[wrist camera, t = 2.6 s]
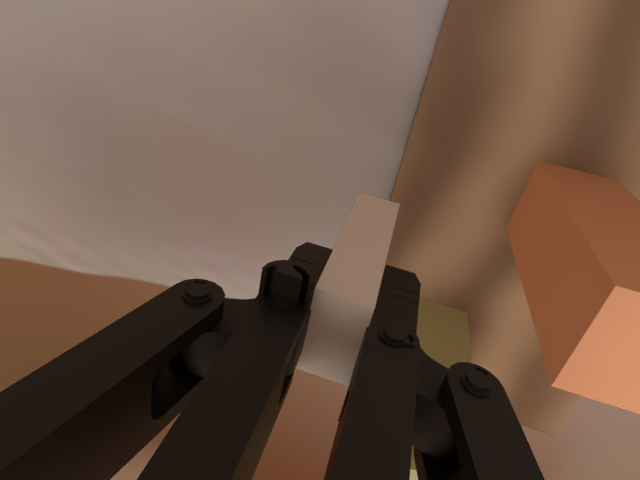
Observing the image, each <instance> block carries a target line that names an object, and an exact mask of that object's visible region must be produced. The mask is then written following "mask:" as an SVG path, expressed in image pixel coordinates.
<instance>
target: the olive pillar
mask: <svg viewBox="0 0 640 480" xmlns="http://www.w3.org/2000/svg"><path fill="white" fill-rule="evenodd" d="M416 335H417V336H418V338H419V342H420V347H421V348H422V350H423V351H424V352H425V353H426V354H427V355H428V356H429V357H430V358H432V359H433V360H435V361H436V362H438V363H440V364H441V365H443V366H445V367H447V368H448V369H449V368H450V367H451V365H453V364H456V363H458V362H469V363H472V359H471V347H470V334H469V321H468V312H465V311H462V310H459V309H456V308H452V307H449V306H446V305H442V304H439V303H436V302H433V301H429V300H426V299H423V298H420V299H419V310H418V321H417V332H416ZM410 480H418V476H417V471H416V465H415V460H414V454H413V445H412V455H411V468H410Z"/></svg>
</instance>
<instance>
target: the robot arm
mask: <svg viewBox="0 0 640 480" xmlns="http://www.w3.org/2000/svg"><path fill="white" fill-rule="evenodd" d="M399 205H400V204H399V203H395V202H392V201H388V200H385V199H381V198H378V197H374V196H371V195H367V194H363V193H360V194H359V196H358V198H357V200H356V202H355V204H354V207H353V209H352V211H351V213H350V215H349V217H348V219H347V221H346V223H345V226H344V228H343V230H342V232H341V234H340V236H339V238H338V240H337V243H336V245H335V247H334V249H333V250H332V249H328V248H325V247H322V246H318V245H315V244H312V243H308V242H306V243H304V244H302V245H300V246H298V247H297V248H296V249H295V250H294V252H293V254H292V255H291V258H289V260H288V261H287V260H279V261H273V262H270V263H268V264H266V265H265V266H264V267H263V269H262V275H261V282H260V288H259V294H258V296H257V297H256V298H255V299H248V300H239V299H228V298H225V293H224V291H223V289H222V288H221V287H220V286H219V285H217V284H216V283H214V282H211V281H208V280H204V279H190V280H184V281H182V282H180V283H177V284H175V285H174V286H172V287H170V288H169V289H167V290H166V291H164V292H162V293H161V294H159V295H157V296H156V297H154V298H153V299H151V300H149V301H148V302H146V303H144V304H143V305H141V306H140V307H138V308H136V309H135V310H133V311H132V312H130V313H128V314H127V315H125V316H123V317H122V318H120V319H118V320H117V321H115V322H114V323H112V324H110V325H109V326H107V327H105V328H104V329H102V330H101V331H99V332H97V333H96V334H94V335H92V336H91V337H89V338H88V339H86V340H84V341H83V342H81V343H79V344H78V345H76V346H74V347H73V348H71V349H70V350H68V351H66V352H65V353H63V354H61V355H60V356H58V357H57V358H55V359H53V360H52V361H50V362H49V363H47V364H45V365H44V366H42V367H40V368H39V369H37V370H36V371H34V372H32V373H31V374H29V375H27V376H26V377H24V378H22V379H21V380H19V381H17V382H16V383H14V384H13V385H11V386H9V387H8V388H6V389H4V390H3V391H2V392H0V480H110V479H111V478H112V477H113V476H114V475H115V474H116V473H117V472H118V471H119V470H120V469H121V468H122V467H123V466H125V465H126V464H127V463H128V462H129V461H130V460H131V459H132V458H133V457H134V456H135V455H136V454H137V453H138V452H139V451H140V450H141V449H142V448H144V446H146V445H147V444H148V443H149V442H150V441H151V440H152V439H153V438H154V437H155V436H156V435H157V434H158V433H159V432H160V431H162V430H163V429H164V428H165V427H166V426H167V425H168V424H169V423H170V422H171V421H172V420H173V419H174V418H175V417H176V416H177V415H178V414H179V413H180V415H179V416H178V418H177V420H176V421H175V423H174V424H173V426H172V427H171V429H170V430H169V432H168V433H167V435H166V436H165V438H164V439H163V441H162V443H161V444H160V445H159V447H158V449H157V450H156V451H155V453H154V455H153V456H152V458H151V459H150V461H149V462H148V464H147V465H146V467H145V468H144V470H143V471H142V473H141V474H140V476H139V477H138V479H137V480H252V478H253V475H254V473H255V470H256V468H257V466H258V463H259V461H260V458H261V456H262V453H263V451H264V448H265V446H266V444H267V441H268V439H269V436H270V434H271V431H272V429H273V427H274V424H275V422H276V419H277V417H278V414H279V412H280V410H281V407H282V405H283V402H284V400H285V397H286V395H287V393H288V390H289V388H290V385H291V382H292V378H293V373H294V369H295V367H296V365H297V369H299V370H302V371H305V372H307V373H311V374H314V375H316V376H319V377H323V378H325V379H329V380H331V381H335V382H337V383H340V384H343V385H346V386H349V388H348V391H347V394H346V397H345V400H344V404H343V407H342V410H341V413H340V416H339V419H338V421H339V423H338V427H337V430H336V434H335V438H334V442H333V446H332V450H331V453H330V457H329V461H328V465H327V468H326V472H325V476H324V480H410V468H411V455H412V445H413V454H414V460H415V465H416V471H417V476H418V480H544V477H543V475H542V473H541V471H540V469H539V466H538V464H537V462H536V459H535V457H534V455H533V453H532V450H531V448H530V446H529V443H528V441H527V439H526V437H525V434H524V432H523V430H522V428H521V425H520V423H519V421H518V418H517V416H516V414H515V412H514V409H513V407H512V405H511V403H510V400H509V398H508V396H507V393H506V391H505V389H504V387H503V386H502V384H501V383H500V381H499V380H498V379H497V378H496V377H495V376H494V375H493V374H492V373H491V372H490V371H488V370H486V369H484V368H483V367H481V366H479V365H476V364H472V363H469V362H458V363H456V364H453V365H451V367H450V368H449V369H448V368H447V367H445V366H443V365H441V364H440V363H438V362H436V361H435V360H433V359H432V358H430V357H429V356H428V355H427V354H426V353H425V352H424V351H423V350H422V348H421V347H420V342H419V338H418V336H417V335H416V332H417V321H418V310H419V299H420V296H419V295H420V288H421V283H420V282H419V280H418V278H417V276H416V274H415V273H413V272H409V271H406V270H403V269H399V268H396V267H393V266H389V265H386V259H387V255H388V251H389V247H390V243H391V238H392V234H393V230H394V226H395V222H396V217H397V213H398V209H399ZM297 362H298V364H297Z"/></svg>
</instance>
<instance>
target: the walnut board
mask: <svg viewBox="0 0 640 480" xmlns="http://www.w3.org/2000/svg"><path fill="white" fill-rule="evenodd" d="M537 160H539V161H543V162H547V163H551V164H554V165H558V166H562V167H566V168H570V169H574V170H578V171H582V172H585V173H589V174H593V175H597V176H601V177H605V178H609V179H613V180H617V181H619V182H620V183H621V184H622V185H623V186H624V187H625V188H626V189H627V190H628V191H629V192H630V193H631V194H632V195H633V196H634V197H635V198H636V199H637V200H639V201H640V0H450V2H449V6H448V9H447V12H446V16H445V19H444V22H443V26H442V29H441V32H440V36H439V39H438V42H437V46H436V49H435V52H434V56H433V59H432V62H431V66H430V69H429V72H428V76H427V79H426V83H425V86H424V89H423V93H422V96H421V99H420V103H419V106H418V109H417V113H416V116H415V119H414V123H413V126H412V129H411V133H410V136H409V139H408V143H407V146H406V149H405V153H404V156H403V159H402V163H401V166H400V169H399V173H398V176H397V180H396V183H395V186H394V190H393V193H392V196H391V200H390V201H392V202H395V203H399V204H400V205H399V209H398V213H397V217H396V222H395V226H394V230H393V234H392V238H391V243H390V247H389V251H388V255H387V259H386V265H389V266H393V267H396V268H399V269H403V270H406V271H409V272H413V273H415V274H416V276H417V278H418V280H419V282H420V283H421V288H420V295H419V296H420V298H423V299H426V300H429V301H433V302H436V303H439V304H442V305H446V306H449V307H452V308H456V309H459V310H462V311H465V312H468V321H469V334H470V347H471V359H472V364H476V365H479V366H481V367H483V368H484V369H486V370H488V371H490V372H491V373H492V374H493V375H494V376H495V377H496V378H497V379H498V380H499V381H500V383H501V384H502V386H503V387H504V389H505V391H506V393H507V396H508V398H509V400H510V403H511V405H512V407H513V409H514V412H515V414H516V416H517V418H518V421H519V423H520V425H522V426H525V427H529V428H532V429H535V430H538V431H541V432H544V433H547V434H550V435H554V434H555V433H556V431H557V430H558V428H559V427H560V425H561V424H562V423H563V421H564V420H565V418H566V417H567V415H568V414H569V413H570V411H571V410H572V408H573V407H574V405H575V404H576V403H577V401H578V400H579V398H580V397H581V395H578V394H575V393H572V392H568V391H565V390H562V389H559V388H556V387H553V386H551V383H550V380H549V376H548V373H547V369H546V366H545V362H544V359H543V355H542V352H541V348H540V345H539V341H538V338H537V334H536V331H535V327H534V324H533V320H532V317H531V313H530V310H529V306H528V303H527V299H526V296H525V292H524V289H523V285H522V282H521V278H520V275H519V271H518V268H517V264H516V261H515V257H514V254H513V250H512V247H511V243H510V240H509V236H508V233H507V229H506V227H507V225H508V223H509V221H510V219H511V216H512V214H513V212H514V210H515V208H516V205H517V203H518V201H519V199H520V197H521V194H522V192H523V190H524V188H525V186H526V184H527V181H528V179H529V177H530V175H531V173H532V170H533V168H534V166H535V164H536V162H537Z"/></svg>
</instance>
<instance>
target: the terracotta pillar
mask: <svg viewBox="0 0 640 480" xmlns="http://www.w3.org/2000/svg"><path fill="white" fill-rule="evenodd" d="M506 229H507V233H508V236H509V240H510V243H511V247H512V250H513V254H514V257H515V261H516V264H517V268H518V271H519V275H520V278H521V282H522V285H523V289H524V292H525V296H526V299H527V303H528V306H529V310H530V313H531V317H532V320H533V324H534V327H535V331H536V334H537V338H538V341H539V345H540V348H541V352H542V355H543V359H544V362H545V366H546V369H547V373H548V376H549V380H550V383H551V386H553V387H556V388H559V389H562V390H565V391H568V392H572V393H575V394H578V395H581V396H584V397H587V398H591V399H594V400H597V401H600V402H603V403H606V404H610V405H613V406H616V407H619V408H622V409H625V410H629V411H632V412H635V413H638V414H640V201H639V200H637V199H636V198H635V197H634V196H633V195H632V194H631V193H630V192H629V191H628V190H627V189H626V188H625V187H624V186H623V185H622V184H621V183H620V182H619V181H617V180H613V179H609V178H605V177H601V176H597V175H593V174H589V173H585V172H582V171H578V170H574V169H570V168H566V167H562V166H558V165H554V164H551V163H547V162H543V161H539V160H537V162H536V164H535V166H534V168H533V170H532V173H531V175H530V177H529V179H528V181H527V184H526V186H525V188H524V190H523V192H522V194H521V197H520V199H519V201H518V203H517V205H516V208H515V210H514V212H513V214H512V216H511V219H510V221H509V223H508V225H507V227H506Z"/></svg>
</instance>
